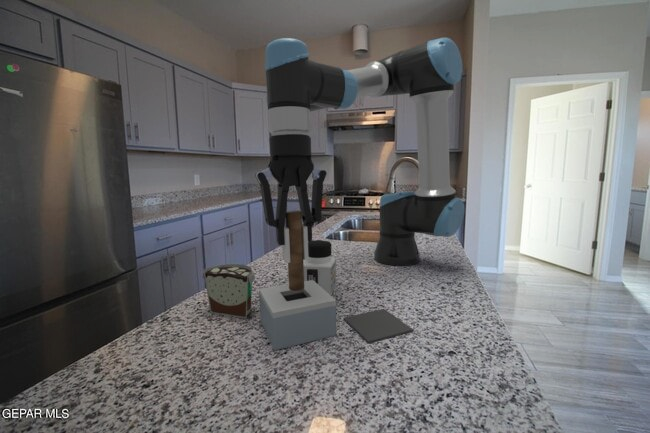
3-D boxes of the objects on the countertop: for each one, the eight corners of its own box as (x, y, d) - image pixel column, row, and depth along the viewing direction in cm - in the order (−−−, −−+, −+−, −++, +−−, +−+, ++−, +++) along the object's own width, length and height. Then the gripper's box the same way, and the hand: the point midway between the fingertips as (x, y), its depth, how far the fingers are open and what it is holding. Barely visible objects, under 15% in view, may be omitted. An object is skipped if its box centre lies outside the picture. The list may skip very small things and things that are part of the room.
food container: (267, 307, 72) (265, 265, 70) (252, 319, 66) (250, 274, 65) (222, 301, 76) (219, 261, 74) (205, 311, 70) (201, 269, 69)
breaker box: (313, 309, 70) (312, 279, 69) (336, 335, 59) (336, 300, 58) (260, 320, 65) (258, 288, 64) (274, 350, 55) (272, 312, 53)
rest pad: (383, 310, 69) (383, 308, 69) (413, 331, 60) (413, 329, 60) (343, 319, 65) (343, 317, 65) (368, 343, 56) (368, 341, 56)
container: (331, 296, 77) (330, 245, 75) (301, 294, 79) (299, 244, 77) (336, 284, 85) (335, 238, 83) (308, 283, 86) (307, 237, 85)
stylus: (301, 283, 63) (298, 210, 61) (306, 289, 61) (303, 212, 58) (287, 286, 62) (283, 212, 60) (291, 291, 59) (288, 214, 57)
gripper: (322, 137, 63) (325, 249, 67) (241, 136, 57) (250, 260, 61) (338, 133, 56) (341, 258, 60) (249, 131, 50) (258, 271, 54)
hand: (295, 259), depth 60 cm, fingers closed on stylus, 3 cm apart
